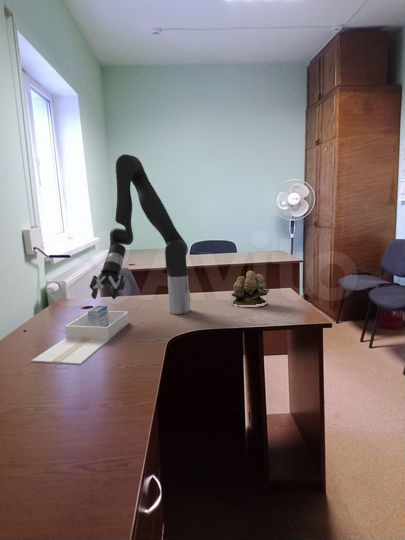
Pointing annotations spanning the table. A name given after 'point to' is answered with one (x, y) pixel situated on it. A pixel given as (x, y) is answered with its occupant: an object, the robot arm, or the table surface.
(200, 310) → the table surface
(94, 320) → the medicine box
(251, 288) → the brown lumpy mound
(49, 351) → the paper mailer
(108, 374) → the table surface
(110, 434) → the table surface
